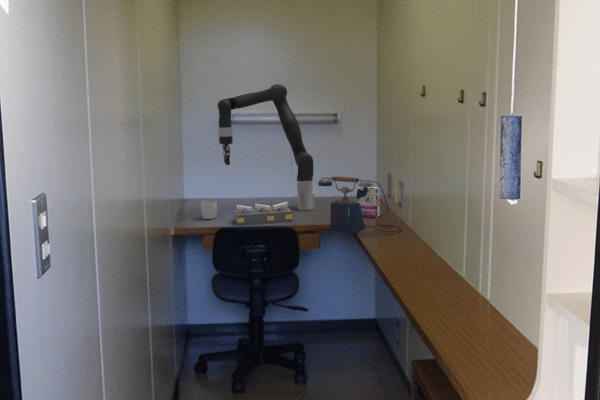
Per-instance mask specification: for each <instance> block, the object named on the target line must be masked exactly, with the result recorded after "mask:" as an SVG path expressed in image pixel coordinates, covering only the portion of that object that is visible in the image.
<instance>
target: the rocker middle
mask: <svg viewBox="0 0 600 400" xmlns="http://www.w3.org/2000/svg"><path fill="white" fill-rule="evenodd" d="M262 207H265V209H267V210H270V209H271V208H272V206H270V205H267V204H260V203H254V208H255V209H262Z"/></svg>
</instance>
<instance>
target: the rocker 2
mask: <svg viewBox="0 0 600 400" xmlns="http://www.w3.org/2000/svg"><path fill="white" fill-rule="evenodd" d="M280 206H283V207H288V206H289V202H288V201H284V202H280V203H277V204H272V208H273V209H274V210H275V209H279V208H280Z"/></svg>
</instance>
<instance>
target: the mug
mask: <svg viewBox="0 0 600 400" xmlns="http://www.w3.org/2000/svg"><path fill="white" fill-rule="evenodd" d="M200 209H201V215H202V218H203V217H204V218H215V217H216V218H217V214H218V202H217V200H216V199H204V200H201V201H200ZM204 218H203V219H204ZM216 218H215V219H216Z"/></svg>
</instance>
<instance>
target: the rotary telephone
mask: <svg viewBox="0 0 600 400" xmlns="http://www.w3.org/2000/svg"><path fill="white" fill-rule="evenodd" d="M333 182H334V184H335V187H336V190H337V191H339V192H341V193H342V194H343V197H342V199H339V200H334V201H333V202H331V203H330V227H329V232H335V233H344V234H351V235H354V234H356V233H359V232H361V231H363V230H365V229H366V227H371V228H372V227H373V228H374V229H375V230H377V231H380V232H384V230H383V229H378V228H376V227H378V226H379V227H382V228H385V229H389V228H391V229H394V228H397V229H399V230H385V233H386V232H387V233H388V232H390V233H396V232H401V231H402V228H401V227H398V226H396V225H391V224H381V223H379V220H378V218H379V217H382V216H385V215H386V214H388V213H389V205H388V202H387V200H386V196H385V192H384V190H383V188H382V186H381V184H380V183H379V182H376V181H375V180H371V179H370V180H368V179H359V178H358V177H357V178H356V177H352V176H351V177H350V176H332V177H326V176H325V177H324V176H321V177H320V179H319V181H318V183H317V184H318V186H319V187H331V186H333ZM337 182H343V183H354V184H353V187H352V189H350V188H348V187H347V186H343V187H341V188H338V185H337ZM357 183H358V188H359V187H364V189H363V190H361V189H358V188H357V191H356V198H357V200H358V199H360V198H362V197H365V196H366V194H367V192H368V187H374V183H375V184H378V185H379V186H378V187H380V190H381V192H382V194H383V198H384V201H385V204H386V206H387V211H386V212H385V213H384V214H380V216H378V217H377V218H375V219H376V222H377V224H376V225H366V224H365V221H364V217H363V216H362V211H361V205H360V202H358V201H352V200H350V199H349V198H348V195H347V194H348V193H352V192H354V190H355V188H356V187H355V185H356V184H357Z"/></svg>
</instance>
